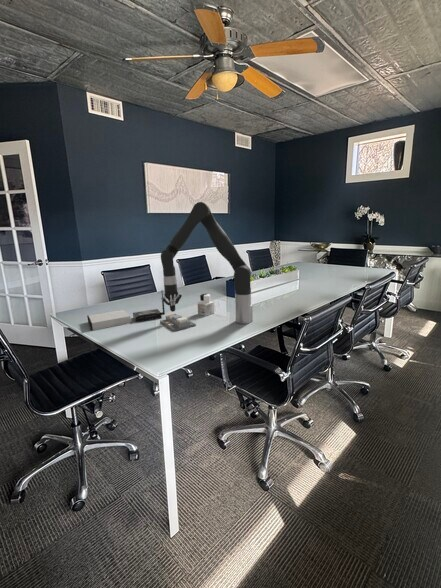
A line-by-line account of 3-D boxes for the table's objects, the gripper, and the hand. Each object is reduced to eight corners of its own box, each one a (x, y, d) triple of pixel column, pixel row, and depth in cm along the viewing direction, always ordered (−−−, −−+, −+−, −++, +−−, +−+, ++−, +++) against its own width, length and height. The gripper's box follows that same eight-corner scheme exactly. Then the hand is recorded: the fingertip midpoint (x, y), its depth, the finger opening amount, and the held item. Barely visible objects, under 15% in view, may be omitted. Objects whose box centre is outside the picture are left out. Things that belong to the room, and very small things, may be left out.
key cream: (183, 320, 172) (183, 317, 172) (187, 322, 168) (186, 318, 168) (176, 321, 170) (176, 318, 169) (180, 323, 166) (179, 320, 166)
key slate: (179, 317, 177) (178, 314, 176) (182, 319, 173) (182, 316, 173) (172, 319, 175) (172, 316, 174) (175, 321, 171) (175, 317, 170)
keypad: (181, 317, 186) (180, 312, 185) (195, 325, 171) (195, 320, 170) (160, 322, 179) (159, 317, 178) (173, 331, 163) (173, 325, 162)
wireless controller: (136, 323, 179) (133, 296, 175) (132, 317, 191) (130, 292, 187) (168, 318, 187) (166, 292, 183) (163, 312, 199) (161, 288, 195)
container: (197, 313, 193) (196, 294, 190) (206, 311, 198) (205, 292, 195) (206, 316, 188) (205, 296, 185) (214, 313, 193) (213, 293, 190)
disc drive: (88, 322, 185) (86, 315, 183) (124, 316, 195) (123, 309, 194) (91, 331, 170) (90, 323, 168) (131, 323, 180) (130, 315, 179)
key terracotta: (174, 317, 182) (174, 314, 182) (178, 319, 179) (177, 316, 178) (168, 319, 180) (168, 316, 179) (171, 321, 176) (171, 317, 176)
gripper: (177, 280, 180) (179, 307, 184) (157, 283, 173) (160, 312, 177) (183, 282, 174) (185, 310, 178) (162, 285, 167) (165, 314, 171)
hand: (172, 311), depth 178 cm, fingers closed
